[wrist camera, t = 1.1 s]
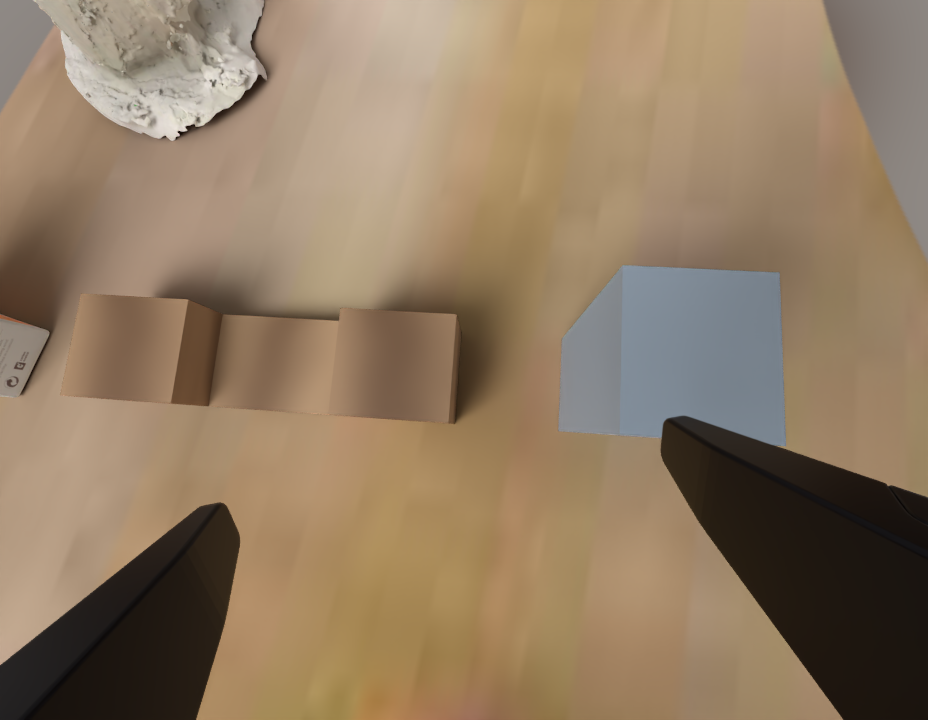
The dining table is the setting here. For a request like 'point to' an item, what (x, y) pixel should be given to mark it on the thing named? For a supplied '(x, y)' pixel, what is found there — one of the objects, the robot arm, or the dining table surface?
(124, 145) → the dining table surface
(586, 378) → the blue block
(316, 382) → the slotted plank
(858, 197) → the dining table surface
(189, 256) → the dining table surface
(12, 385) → the skincare box
